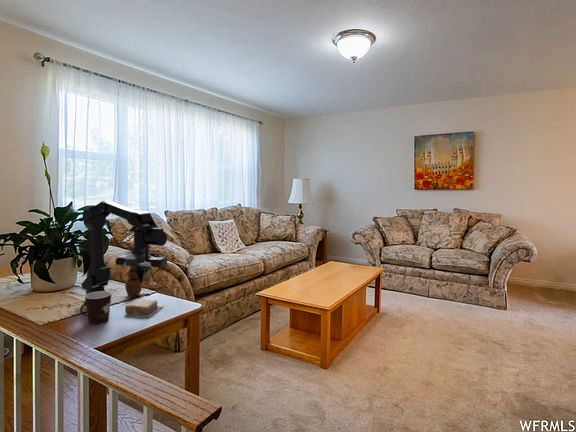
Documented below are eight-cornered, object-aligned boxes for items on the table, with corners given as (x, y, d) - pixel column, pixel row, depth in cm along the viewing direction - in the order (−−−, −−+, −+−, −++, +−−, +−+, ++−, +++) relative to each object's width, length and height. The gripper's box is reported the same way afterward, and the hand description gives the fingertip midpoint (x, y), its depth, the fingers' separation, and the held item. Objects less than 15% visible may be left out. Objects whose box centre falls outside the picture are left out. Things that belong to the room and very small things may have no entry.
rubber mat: (125, 315, 134) (125, 314, 134) (140, 305, 144) (140, 305, 144) (149, 317, 133) (149, 316, 132) (163, 307, 143) (163, 306, 143)
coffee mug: (105, 314, 134) (105, 289, 133) (116, 321, 128) (115, 294, 128) (72, 323, 125) (71, 296, 124) (81, 330, 120) (81, 302, 119)
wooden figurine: (144, 293, 160) (144, 261, 159) (137, 297, 155) (137, 264, 153) (130, 292, 161) (130, 260, 160) (123, 296, 155) (122, 263, 154)
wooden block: (125, 305, 135) (147, 307, 134) (136, 298, 143) (157, 300, 142) (125, 313, 135) (147, 315, 134) (136, 306, 143) (157, 307, 142)
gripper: (106, 245, 129) (107, 286, 131) (154, 248, 127) (154, 290, 129) (123, 241, 140) (124, 278, 142) (167, 243, 138) (167, 281, 140)
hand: (141, 282), depth 138 cm, fingers closed
